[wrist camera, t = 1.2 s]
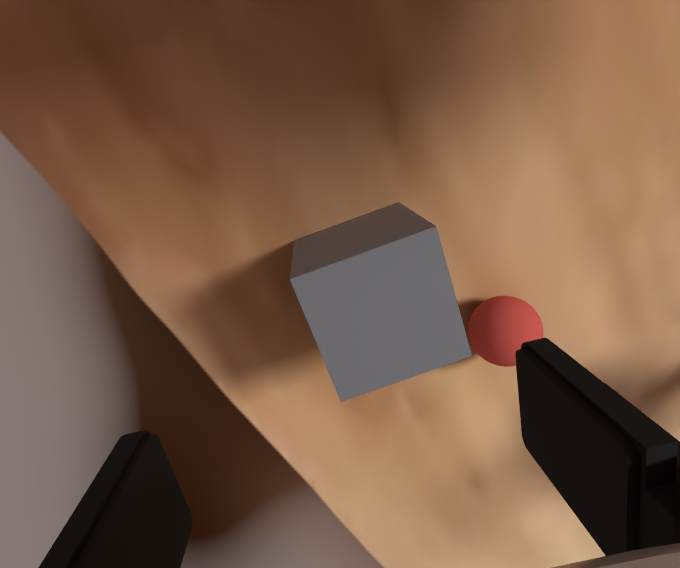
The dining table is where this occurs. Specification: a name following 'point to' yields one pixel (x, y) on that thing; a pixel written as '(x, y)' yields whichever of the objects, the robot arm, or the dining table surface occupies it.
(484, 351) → the ball
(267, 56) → the dining table surface
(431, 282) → the matte gray cube
